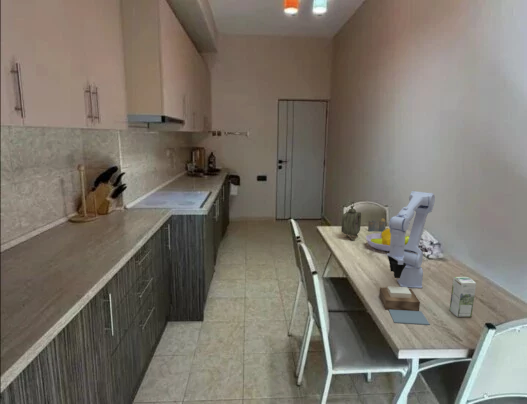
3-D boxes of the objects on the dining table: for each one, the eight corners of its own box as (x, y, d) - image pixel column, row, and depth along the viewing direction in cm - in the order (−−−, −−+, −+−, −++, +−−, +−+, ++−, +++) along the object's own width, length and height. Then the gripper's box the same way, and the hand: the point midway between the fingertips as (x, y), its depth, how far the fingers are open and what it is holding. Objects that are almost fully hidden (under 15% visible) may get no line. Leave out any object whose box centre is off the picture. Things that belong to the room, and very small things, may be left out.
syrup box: (463, 309, 140) (467, 275, 138) (472, 317, 135) (476, 282, 132) (449, 310, 140) (452, 276, 137) (457, 317, 134) (461, 282, 132)
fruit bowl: (356, 248, 216) (357, 230, 214) (380, 239, 234) (381, 222, 231) (399, 260, 195) (401, 240, 193) (421, 249, 213) (423, 231, 211)
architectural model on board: (383, 230, 255) (384, 217, 253) (385, 232, 252) (385, 218, 250) (367, 230, 255) (368, 217, 253) (368, 231, 252) (369, 218, 250)
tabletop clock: (354, 242, 227) (355, 204, 222) (340, 240, 232) (341, 203, 227) (359, 236, 240) (361, 200, 235) (346, 234, 244) (348, 199, 239)
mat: (421, 312, 139) (421, 311, 139) (429, 325, 129) (429, 324, 129) (388, 310, 140) (388, 309, 140) (394, 322, 131) (394, 321, 131)
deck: (410, 297, 151) (411, 288, 150) (419, 311, 139) (419, 302, 139) (379, 296, 153) (379, 287, 152) (385, 309, 141) (385, 300, 140)
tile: (407, 291, 148) (407, 287, 147) (411, 298, 142) (411, 293, 141) (387, 290, 149) (387, 286, 148) (390, 297, 143) (390, 292, 142)
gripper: (384, 239, 157) (382, 267, 159) (391, 249, 143) (389, 280, 145) (400, 239, 156) (398, 268, 159) (409, 250, 142) (407, 281, 144)
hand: (395, 274), depth 152 cm, fingers open, 6 cm apart
